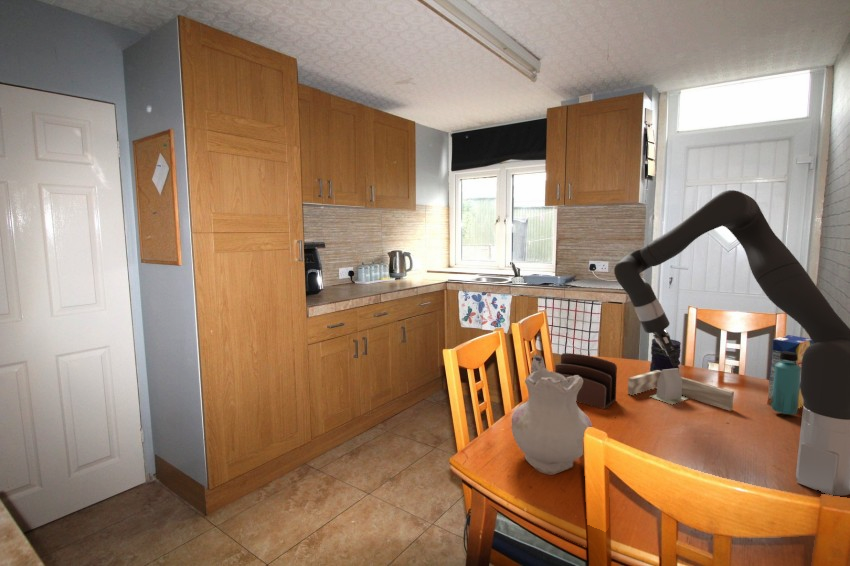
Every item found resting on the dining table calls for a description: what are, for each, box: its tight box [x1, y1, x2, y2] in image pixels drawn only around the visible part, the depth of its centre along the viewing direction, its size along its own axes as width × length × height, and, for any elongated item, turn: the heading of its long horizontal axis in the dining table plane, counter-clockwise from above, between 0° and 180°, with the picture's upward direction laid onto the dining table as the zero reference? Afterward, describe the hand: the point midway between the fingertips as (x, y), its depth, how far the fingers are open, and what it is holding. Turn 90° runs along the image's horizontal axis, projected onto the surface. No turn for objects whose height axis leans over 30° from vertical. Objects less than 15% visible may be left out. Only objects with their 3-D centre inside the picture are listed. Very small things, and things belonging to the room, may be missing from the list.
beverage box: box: [766, 334, 814, 409], centre depth 141 cm, size 7×11×22 cm, turn 120°
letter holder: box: [554, 352, 618, 410], centre depth 148 cm, size 10×20×14 cm, turn 47°
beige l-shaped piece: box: [627, 370, 735, 412], centre depth 145 cm, size 17×25×6 cm, turn 30°
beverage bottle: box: [770, 351, 801, 415], centre depth 133 cm, size 6×7×20 cm
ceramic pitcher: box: [511, 353, 593, 476], centre depth 108 cm, size 22×20×25 cm
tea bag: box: [656, 367, 682, 401], centre depth 147 cm, size 4×7×10 cm, turn 105°
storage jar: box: [649, 338, 682, 372], centre depth 166 cm, size 10×10×15 cm
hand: (673, 360), depth 137 cm, fingers open, 8 cm apart
